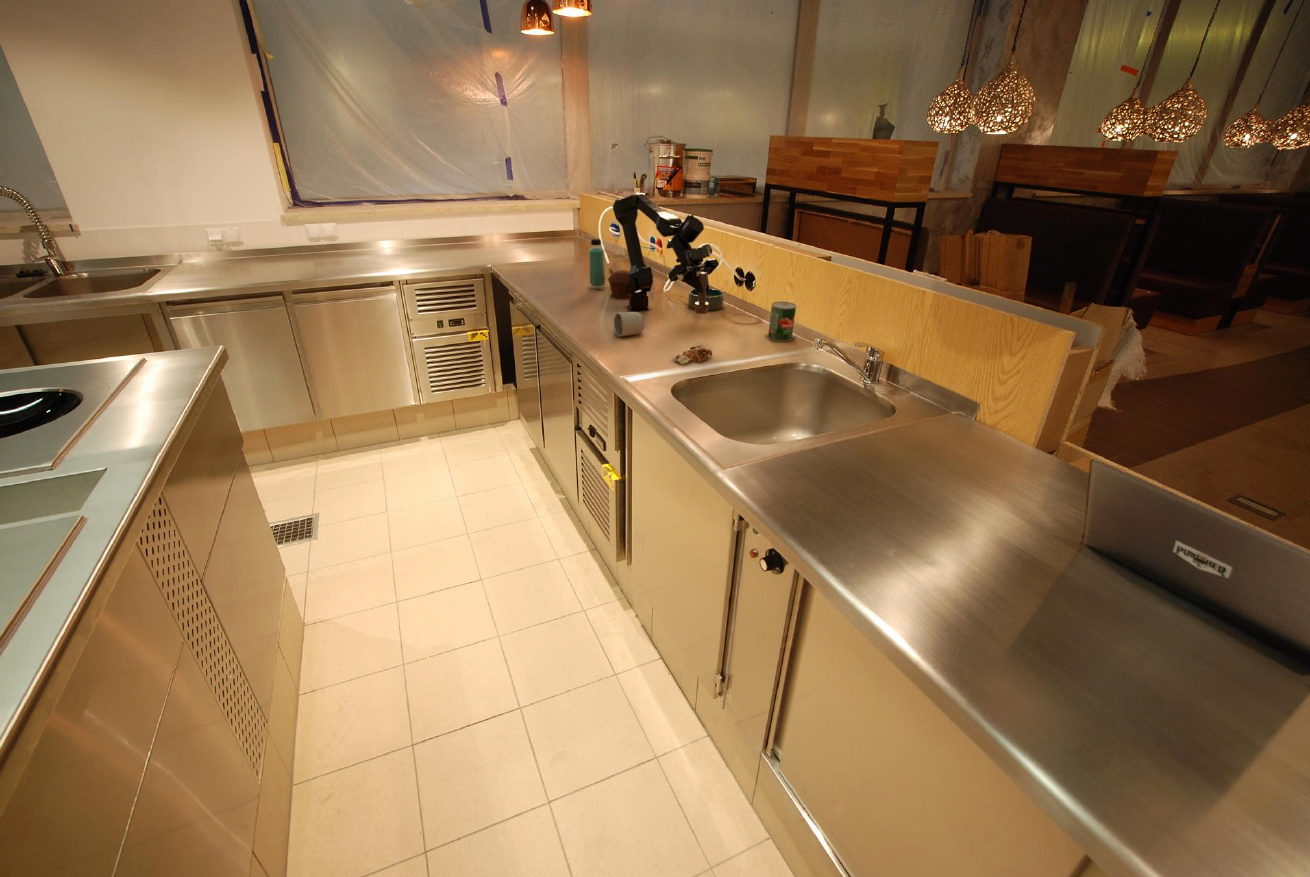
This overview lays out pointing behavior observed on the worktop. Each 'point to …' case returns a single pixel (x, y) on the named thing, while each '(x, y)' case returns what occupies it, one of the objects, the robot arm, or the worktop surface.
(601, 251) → the beverage bottle
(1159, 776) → the worktop surface
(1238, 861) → the worktop surface
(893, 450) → the worktop surface
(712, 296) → the bowl
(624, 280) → the muffin
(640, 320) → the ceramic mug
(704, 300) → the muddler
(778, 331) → the canned tomato
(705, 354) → the pastry
